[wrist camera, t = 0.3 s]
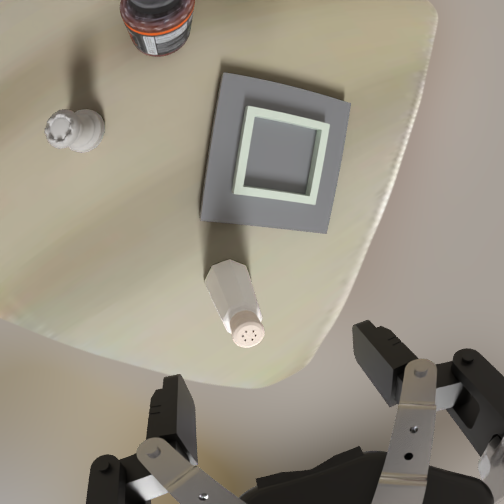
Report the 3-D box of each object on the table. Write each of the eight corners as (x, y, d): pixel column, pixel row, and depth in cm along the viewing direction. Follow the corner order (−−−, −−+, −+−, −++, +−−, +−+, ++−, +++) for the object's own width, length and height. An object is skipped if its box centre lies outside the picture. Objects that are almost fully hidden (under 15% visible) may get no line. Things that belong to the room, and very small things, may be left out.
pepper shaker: (253, 258, 35) (284, 306, 25) (249, 301, 37) (276, 358, 27) (204, 258, 34) (218, 308, 24) (203, 302, 36) (215, 362, 26)
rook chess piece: (91, 100, 26) (65, 89, 18) (114, 133, 27) (94, 130, 20) (58, 129, 26) (25, 127, 18) (81, 161, 27) (53, 168, 20)
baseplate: (221, 75, 28) (225, 69, 25) (344, 104, 32) (356, 102, 29) (199, 217, 32) (201, 223, 30) (320, 230, 36) (331, 237, 34)
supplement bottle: (127, 19, 23) (108, -31, 13) (183, 3, 24) (189, -52, 14) (138, 66, 26) (120, 29, 15) (195, 49, 26) (206, 6, 16)
